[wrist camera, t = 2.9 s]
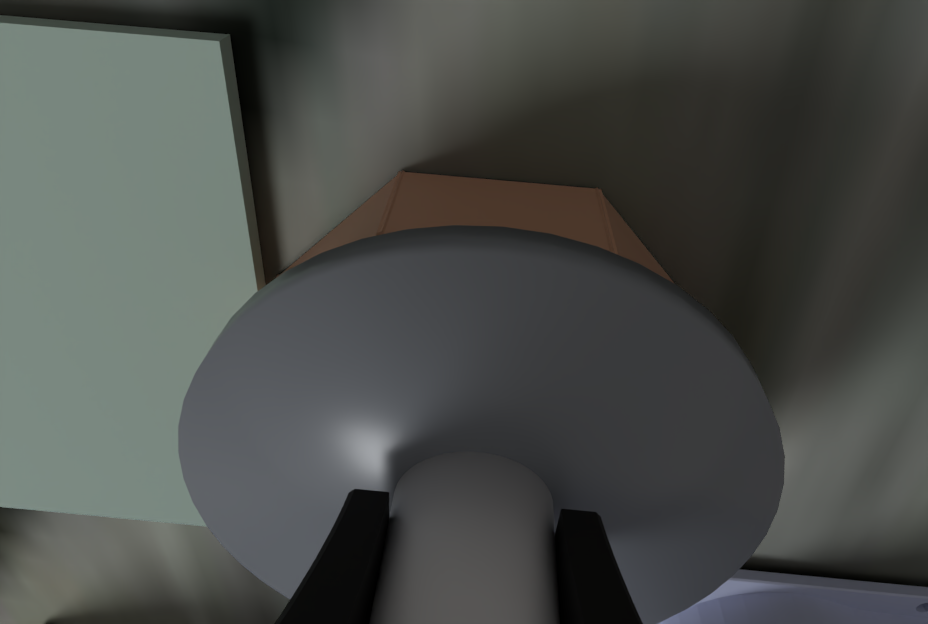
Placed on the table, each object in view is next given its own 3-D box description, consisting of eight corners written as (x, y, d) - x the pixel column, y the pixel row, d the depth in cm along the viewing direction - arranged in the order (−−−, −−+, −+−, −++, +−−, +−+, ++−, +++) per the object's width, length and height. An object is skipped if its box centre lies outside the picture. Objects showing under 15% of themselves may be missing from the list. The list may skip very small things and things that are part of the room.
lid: (878, 260, 9) (1141, 553, 5) (679, 640, 16) (733, 898, 12) (133, 193, 9) (-134, 431, 6) (239, 596, 16) (150, 836, 12)
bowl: (742, 199, 12) (786, 267, 10) (633, 504, 18) (649, 586, 16) (260, 157, 12) (212, 215, 10) (301, 472, 18) (274, 551, 16)
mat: (229, 34, 11) (219, 40, 11) (299, 520, 19) (294, 534, 19) (-435, -22, 11) (-471, -18, 11) (-87, 483, 20) (-99, 497, 19)
